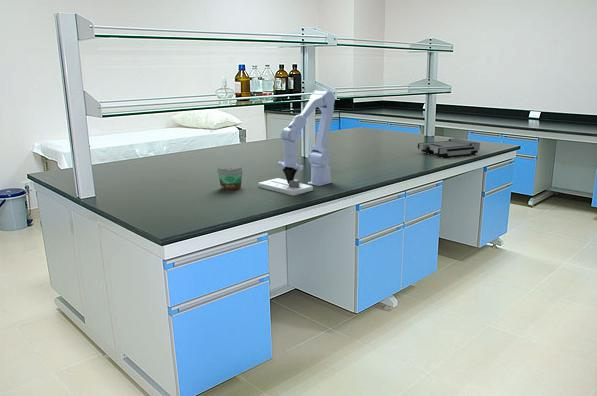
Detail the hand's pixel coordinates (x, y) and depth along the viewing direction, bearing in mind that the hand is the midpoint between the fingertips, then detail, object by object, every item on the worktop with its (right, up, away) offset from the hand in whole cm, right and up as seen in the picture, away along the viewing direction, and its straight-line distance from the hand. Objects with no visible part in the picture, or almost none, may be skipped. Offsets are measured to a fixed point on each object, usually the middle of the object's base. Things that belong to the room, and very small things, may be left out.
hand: (290, 183), depth 227 cm
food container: (-27, -3, +1) cm, 27 cm away
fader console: (-2, -2, +3) cm, 4 cm away
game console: (+99, +21, +87) cm, 134 cm away
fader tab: (+2, -1, -2) cm, 3 cm away
